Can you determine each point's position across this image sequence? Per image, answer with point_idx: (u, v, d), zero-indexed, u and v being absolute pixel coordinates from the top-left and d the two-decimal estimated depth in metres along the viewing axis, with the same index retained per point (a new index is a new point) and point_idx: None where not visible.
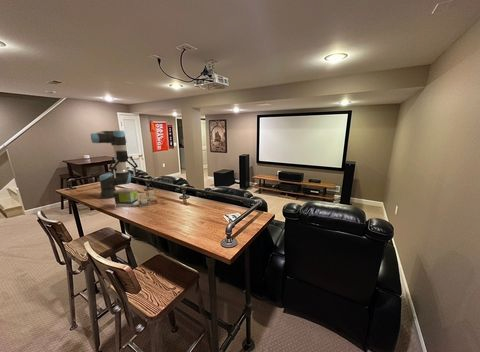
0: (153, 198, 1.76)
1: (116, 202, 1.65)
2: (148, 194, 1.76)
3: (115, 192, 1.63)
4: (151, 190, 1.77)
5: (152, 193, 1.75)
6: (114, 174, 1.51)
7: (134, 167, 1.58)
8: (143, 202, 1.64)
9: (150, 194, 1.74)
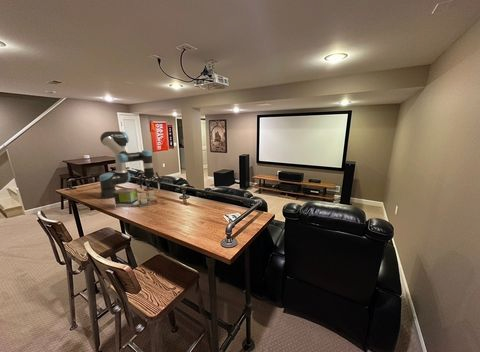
0: (153, 198, 1.76)
1: (116, 202, 1.65)
2: (148, 194, 1.76)
3: (115, 192, 1.63)
4: (151, 190, 1.77)
5: (152, 193, 1.75)
6: (142, 189, 1.70)
7: (159, 182, 1.77)
8: (143, 202, 1.64)
9: (150, 194, 1.74)
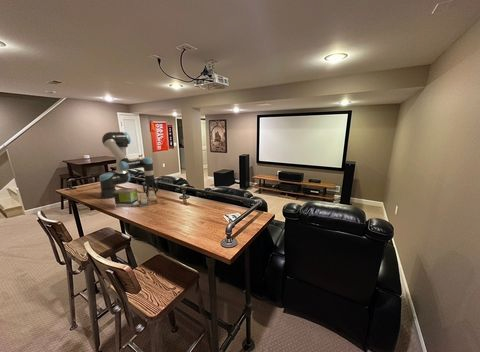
0: (153, 198, 1.76)
1: (116, 202, 1.65)
2: None
3: (115, 192, 1.63)
4: (151, 190, 1.77)
5: (152, 193, 1.75)
6: (148, 197, 1.74)
7: (155, 191, 1.77)
8: (143, 202, 1.64)
9: (150, 194, 1.74)
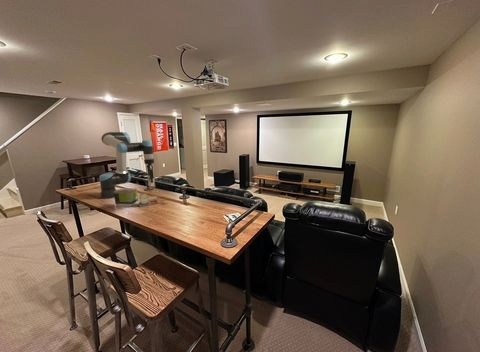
0: (149, 184, 1.65)
1: (116, 202, 1.65)
2: None
3: (115, 192, 1.63)
4: None
5: (148, 179, 1.65)
6: None
7: (150, 178, 1.63)
8: (143, 202, 1.64)
9: (148, 179, 1.66)
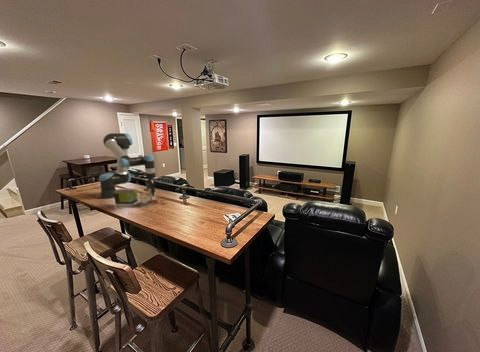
0: (150, 197, 1.68)
1: (116, 202, 1.65)
2: None
3: (115, 192, 1.63)
4: None
5: (149, 192, 1.67)
6: None
7: (151, 191, 1.65)
8: (143, 202, 1.64)
9: (149, 192, 1.69)
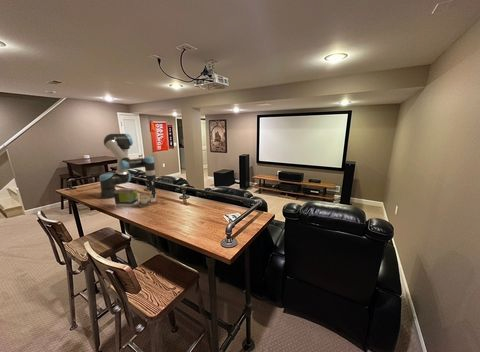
0: (150, 200, 1.68)
1: (116, 202, 1.65)
2: None
3: (115, 192, 1.63)
4: None
5: (150, 195, 1.68)
6: None
7: (152, 193, 1.64)
8: (143, 202, 1.64)
9: None
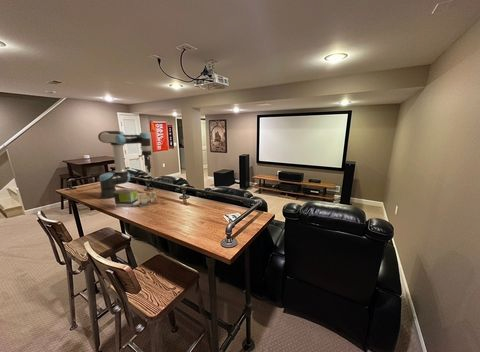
0: (150, 200, 1.68)
1: (116, 202, 1.65)
2: None
3: (115, 192, 1.63)
4: (154, 192, 1.69)
5: (150, 195, 1.68)
6: (145, 169, 1.78)
7: (147, 168, 1.65)
8: (143, 202, 1.64)
9: None
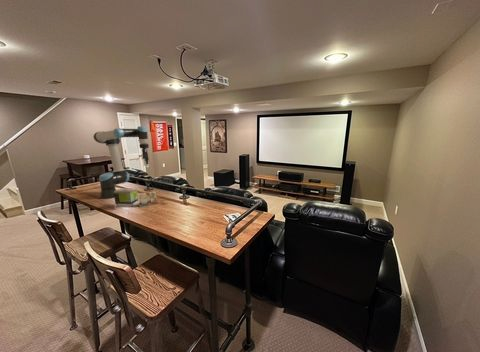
0: (150, 200, 1.68)
1: (116, 202, 1.65)
2: None
3: (115, 192, 1.63)
4: (154, 192, 1.69)
5: (150, 195, 1.68)
6: (143, 162, 1.86)
7: (145, 159, 1.73)
8: (143, 202, 1.64)
9: None
